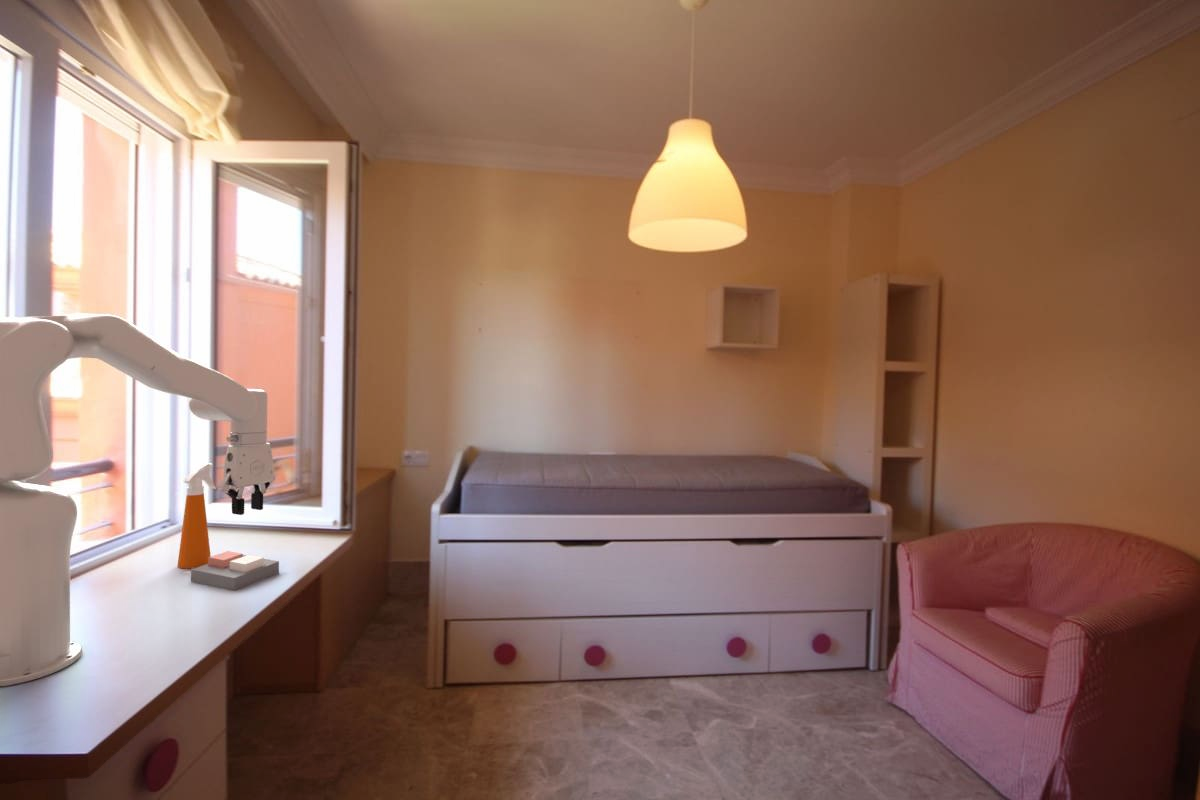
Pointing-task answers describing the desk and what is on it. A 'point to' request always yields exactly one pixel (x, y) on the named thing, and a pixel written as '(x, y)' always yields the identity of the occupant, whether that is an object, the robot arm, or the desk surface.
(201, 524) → the spray bottle
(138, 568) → the desk surface
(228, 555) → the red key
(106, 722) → the desk surface
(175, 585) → the desk surface
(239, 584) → the key panel
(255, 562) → the white key
